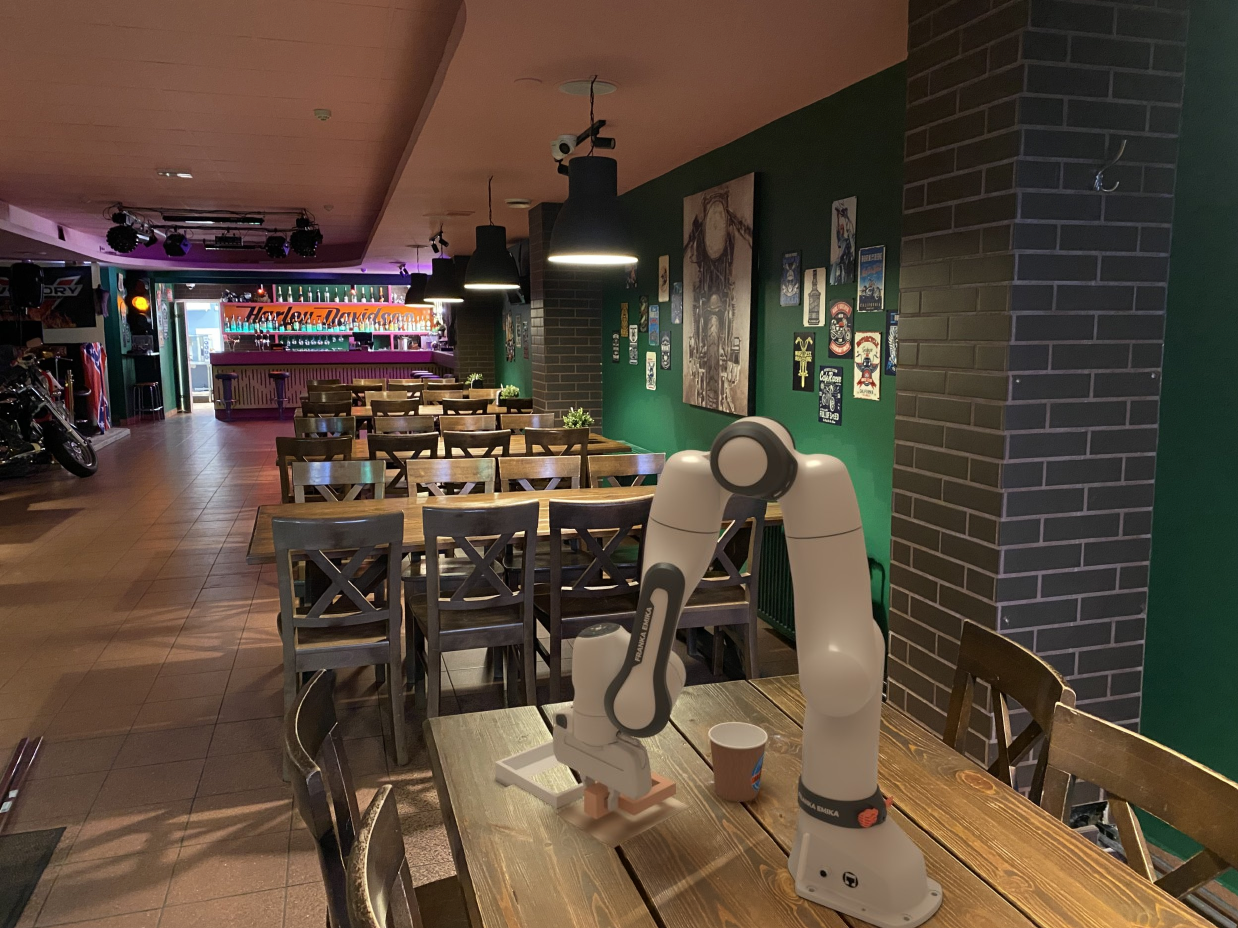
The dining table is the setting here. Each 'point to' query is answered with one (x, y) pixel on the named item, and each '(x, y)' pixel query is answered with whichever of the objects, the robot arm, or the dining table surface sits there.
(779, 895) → the dining table surface
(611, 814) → the board
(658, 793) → the square frame with stem
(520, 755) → the tray
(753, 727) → the coffee cup
